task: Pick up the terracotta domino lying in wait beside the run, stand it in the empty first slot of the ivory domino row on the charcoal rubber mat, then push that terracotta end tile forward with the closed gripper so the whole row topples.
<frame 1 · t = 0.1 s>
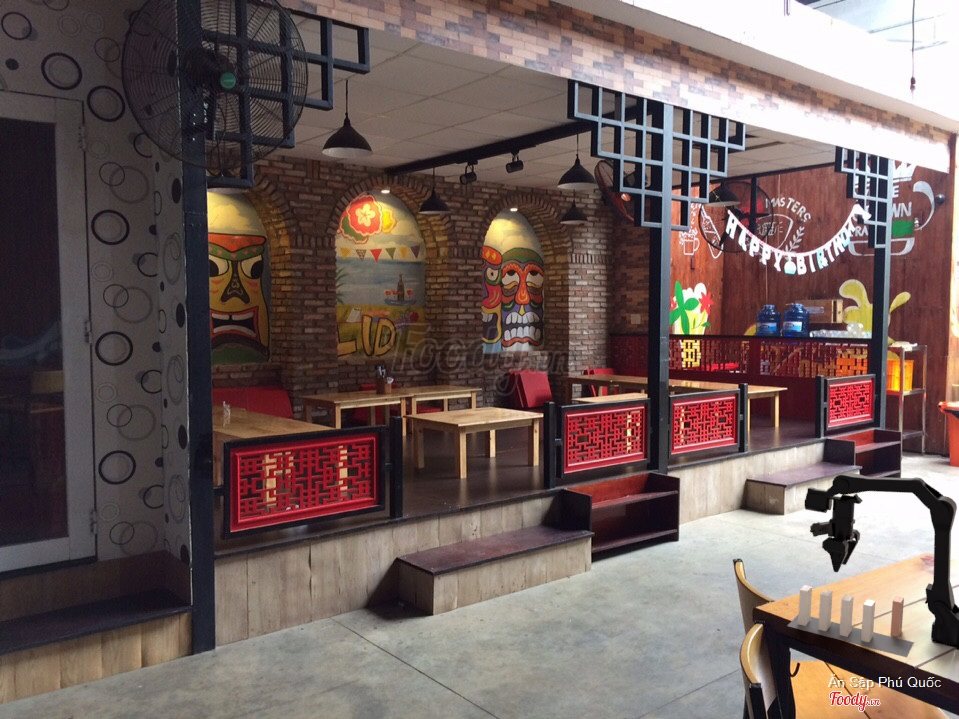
hand: (839, 568, 229), 14 cm above the table, fingers open, 9 cm apart
ivory domino 5: (804, 622, 223), resting on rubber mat
terracotta domino: (896, 634, 218), on the table
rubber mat: (849, 635, 216), on the table
ivory domino 3: (845, 632, 217), resting on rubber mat
ivory domino 2: (867, 638, 213), resting on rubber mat
ivory domino 4: (824, 627, 220), resting on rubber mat
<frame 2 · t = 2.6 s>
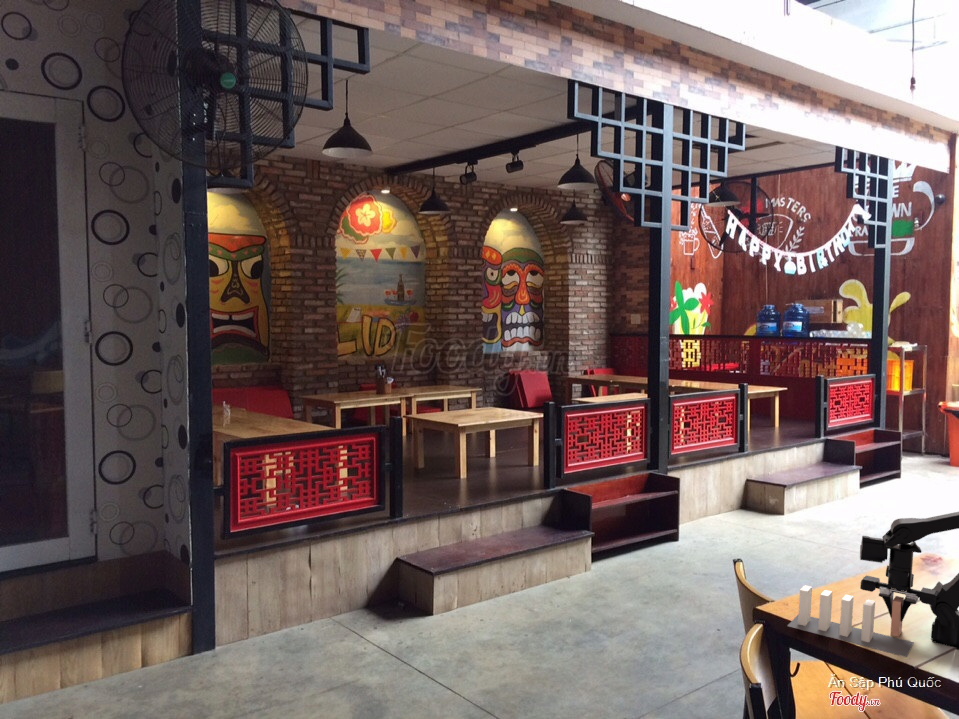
hand: (897, 620, 218), 4 cm above the table, fingers closed on terracotta domino, 2 cm apart
terracotta domino: (896, 634, 218), on the table, touching gripper
everything else where it was.
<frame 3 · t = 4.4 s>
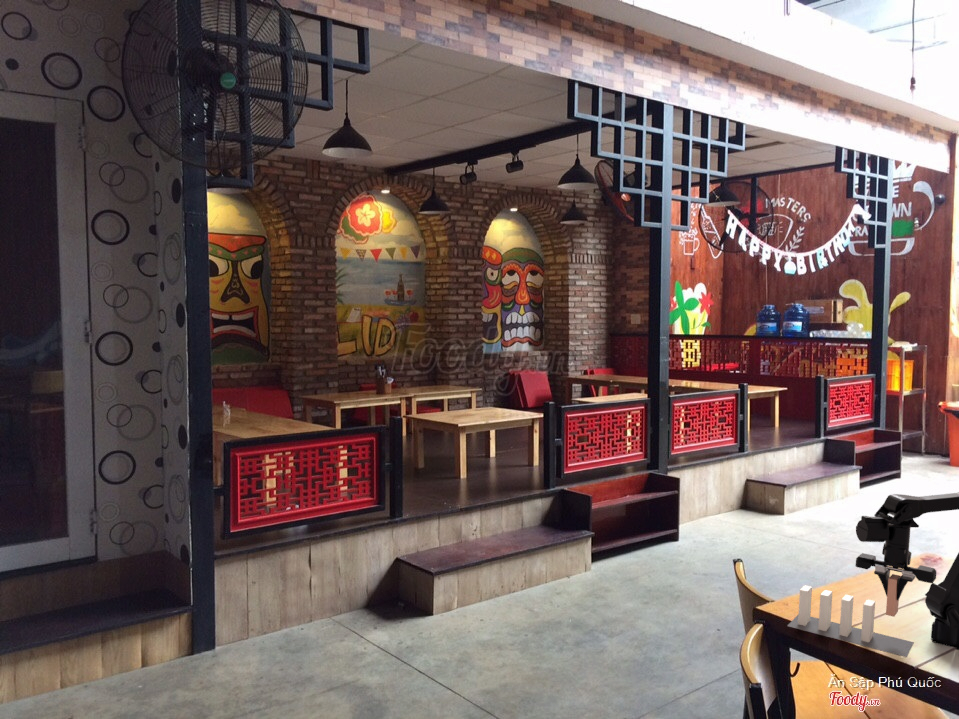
hand: (893, 598, 211), 12 cm above the table, fingers closed on terracotta domino
terracotta domino: (891, 613, 212), point 8 cm above the table, touching gripper
everything else where it was.
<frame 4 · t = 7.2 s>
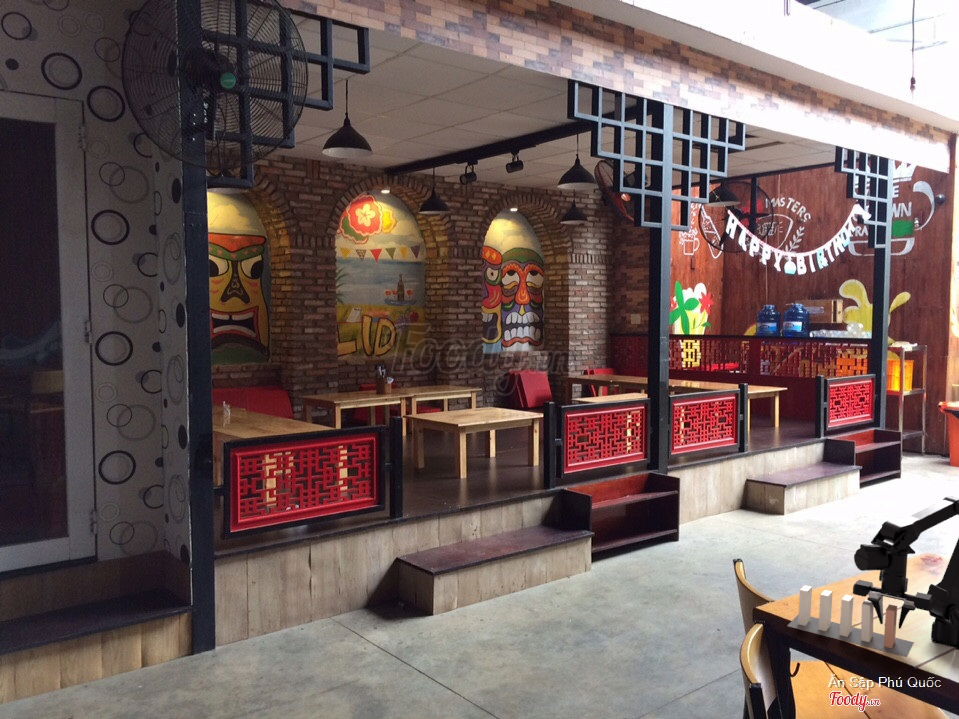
hand: (890, 626, 210), 5 cm above the table, fingers open, 4 cm apart
terracotta domino: (889, 644, 210), resting on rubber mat
ivory domino 2: (867, 638, 213), resting on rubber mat, touching gripper
everything else where it was.
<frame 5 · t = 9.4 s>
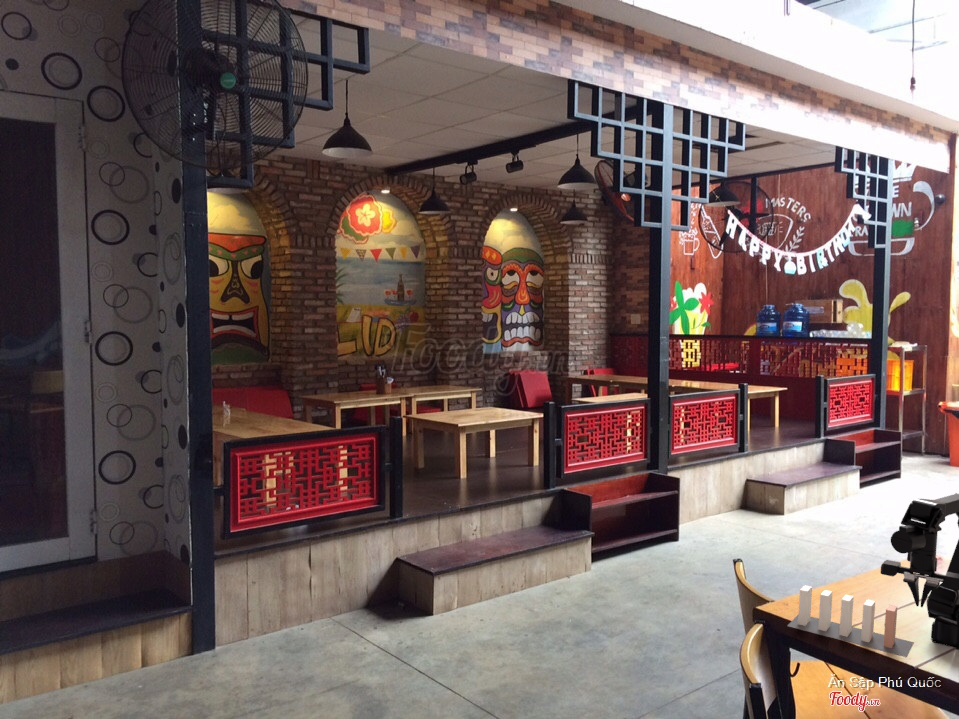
hand: (919, 606, 205), 13 cm above the table, fingers closed
ivory domino 2: (867, 638, 213), resting on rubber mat
everything else where it was.
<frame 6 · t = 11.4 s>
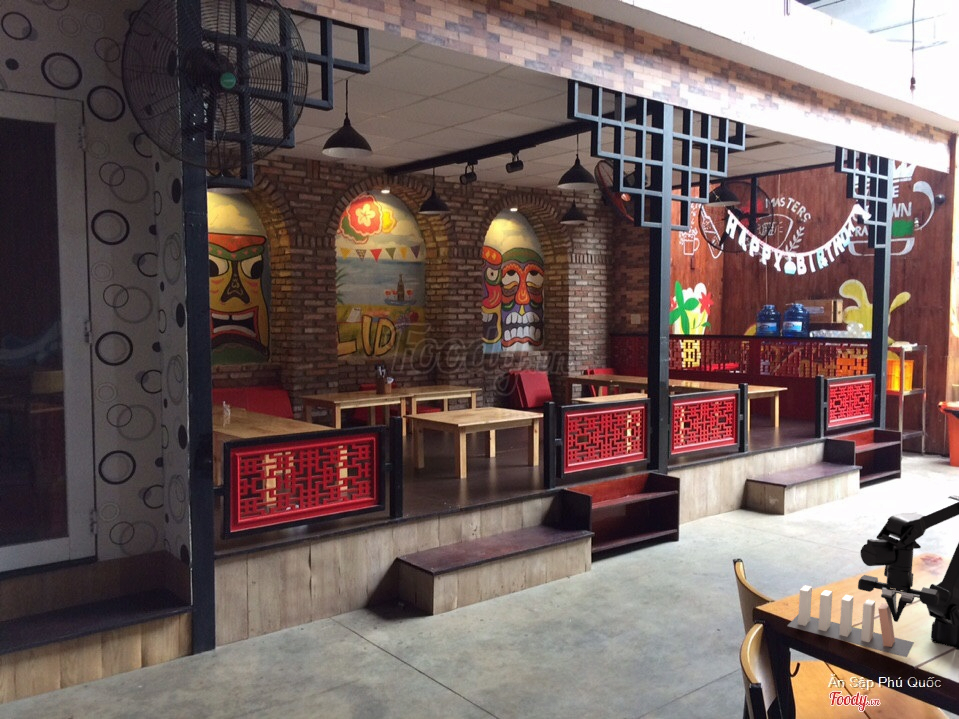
hand: (896, 621, 209), 7 cm above the table, fingers closed
terracotta domino: (889, 643, 210), point 1 cm above the table, tilted 11°, touching gripper, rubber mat
everything else where it was.
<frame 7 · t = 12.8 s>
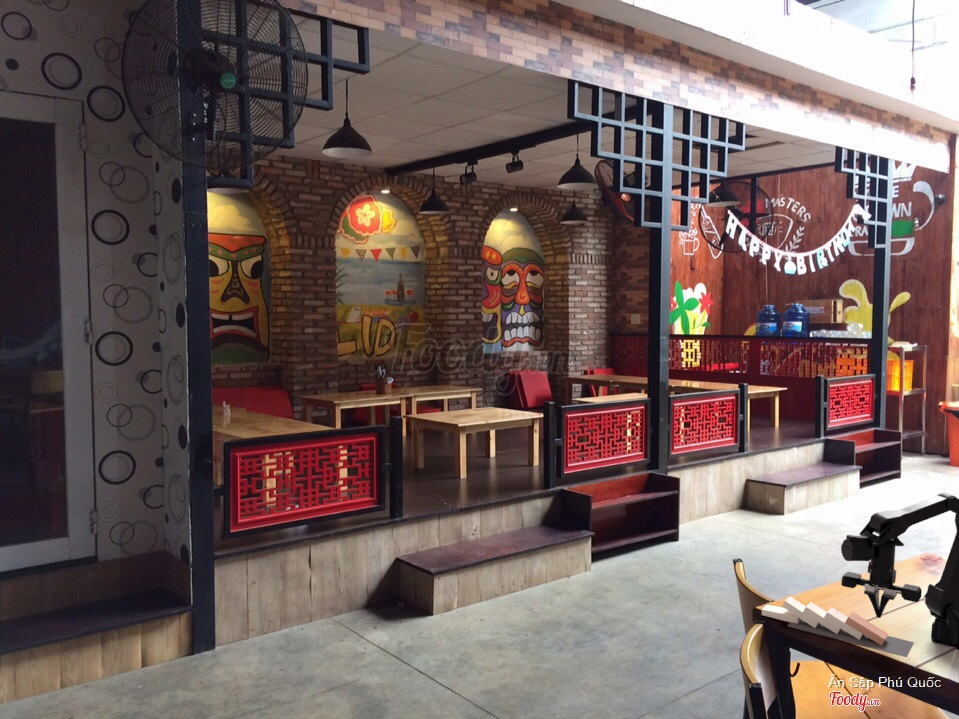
hand: (878, 617, 211), 7 cm above the table, fingers closed
ivory domino 5: (799, 617, 224), point 1 cm above the table, tilted 93°, touching ivory domino 4, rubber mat
terracotta domino: (884, 639, 211), point 1 cm above the table, tilted 68°, touching ivory domino 2, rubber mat
ivory domino 3: (840, 628, 217), point 1 cm above the table, tilted 68°, touching ivory domino 2, ivory domino 4, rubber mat
ivory domino 2: (863, 634, 214), point 1 cm above the table, tilted 69°, touching ivory domino 3, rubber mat, terracotta domino
ivory domino 4: (818, 622, 221), point 1 cm above the table, tilted 68°, touching ivory domino 3, ivory domino 5
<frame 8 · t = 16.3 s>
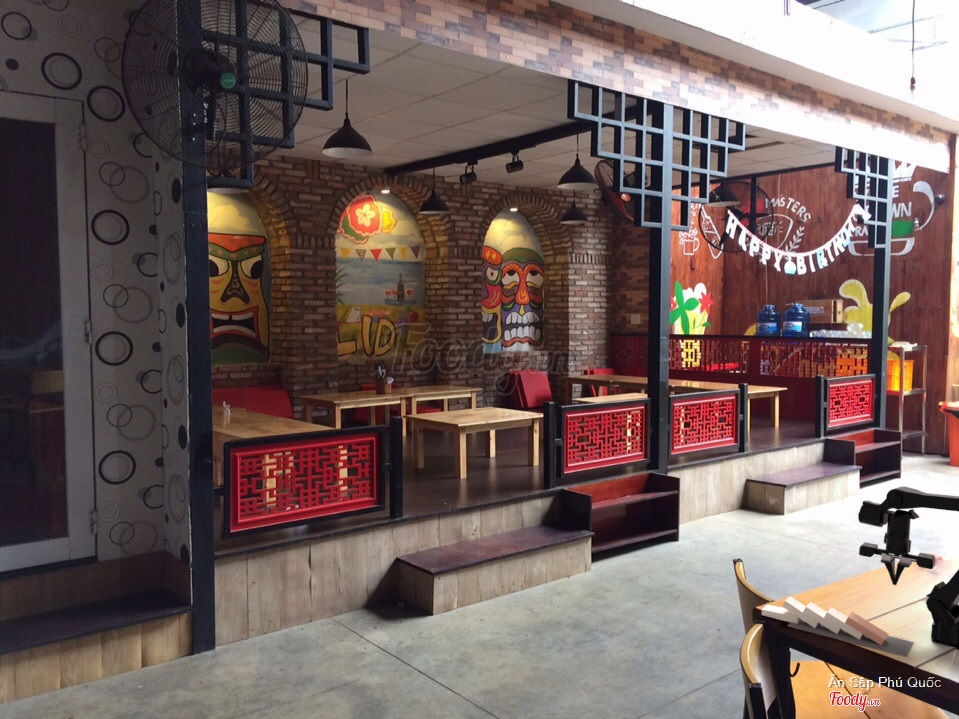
hand: (894, 584, 223), 12 cm above the table, fingers closed
nothing on the table moved.
at the end: terracotta domino inside the target area (1.9 cm from its centre), point 1.3 cm above the table; terracotta domino tilted 68°; ivory domino 5 tilted 93° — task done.
